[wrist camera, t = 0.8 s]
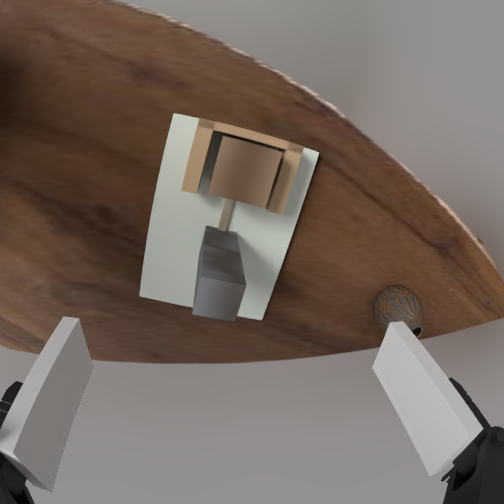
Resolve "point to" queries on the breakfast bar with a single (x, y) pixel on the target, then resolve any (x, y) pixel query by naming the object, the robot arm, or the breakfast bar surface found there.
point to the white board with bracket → (219, 214)
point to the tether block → (219, 239)
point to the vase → (398, 309)
